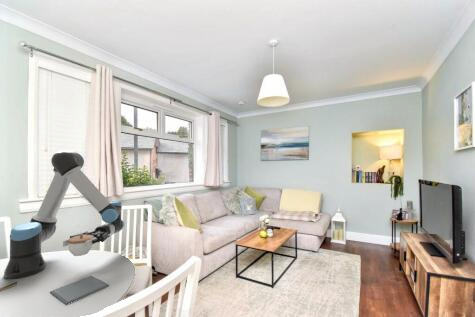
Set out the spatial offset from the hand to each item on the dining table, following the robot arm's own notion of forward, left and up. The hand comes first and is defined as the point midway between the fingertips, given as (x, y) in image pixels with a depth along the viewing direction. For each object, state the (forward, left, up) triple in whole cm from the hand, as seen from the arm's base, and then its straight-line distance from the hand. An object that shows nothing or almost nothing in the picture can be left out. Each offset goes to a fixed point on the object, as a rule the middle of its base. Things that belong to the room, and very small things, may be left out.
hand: (75, 244), depth 108 cm
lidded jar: (-2, +3, -6) cm, 8 cm away
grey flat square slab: (+15, -4, -16) cm, 22 cm away
